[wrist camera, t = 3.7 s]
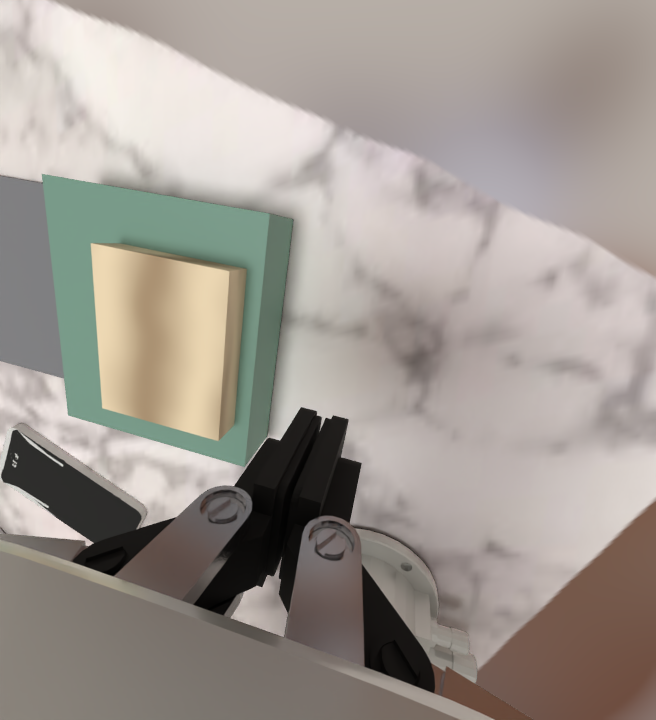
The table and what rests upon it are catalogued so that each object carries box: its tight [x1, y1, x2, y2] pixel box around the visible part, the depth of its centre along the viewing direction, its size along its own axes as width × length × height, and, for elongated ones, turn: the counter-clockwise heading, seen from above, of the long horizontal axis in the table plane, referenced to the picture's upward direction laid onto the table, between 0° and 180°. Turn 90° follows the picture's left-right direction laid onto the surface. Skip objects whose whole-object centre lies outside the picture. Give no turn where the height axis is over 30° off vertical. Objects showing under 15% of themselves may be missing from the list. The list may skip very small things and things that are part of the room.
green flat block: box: [42, 174, 293, 467], centre depth 23 cm, size 14×16×4 cm
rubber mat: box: [0, 176, 64, 378], centre depth 27 cm, size 13×15×1 cm
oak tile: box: [91, 243, 247, 441], centre depth 20 cm, size 8×10×2 cm
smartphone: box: [0, 423, 147, 543], centre depth 34 cm, size 8×1×15 cm
